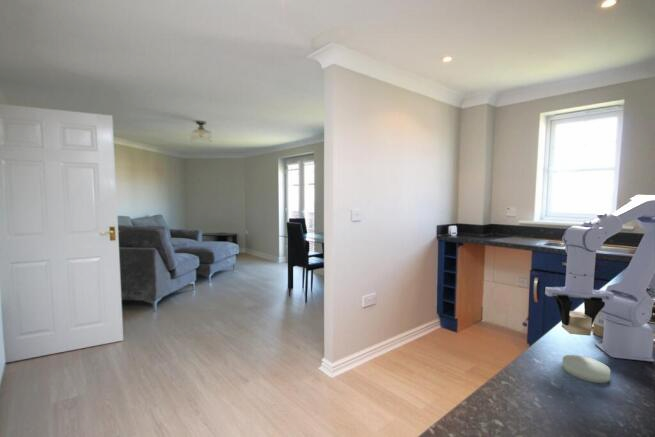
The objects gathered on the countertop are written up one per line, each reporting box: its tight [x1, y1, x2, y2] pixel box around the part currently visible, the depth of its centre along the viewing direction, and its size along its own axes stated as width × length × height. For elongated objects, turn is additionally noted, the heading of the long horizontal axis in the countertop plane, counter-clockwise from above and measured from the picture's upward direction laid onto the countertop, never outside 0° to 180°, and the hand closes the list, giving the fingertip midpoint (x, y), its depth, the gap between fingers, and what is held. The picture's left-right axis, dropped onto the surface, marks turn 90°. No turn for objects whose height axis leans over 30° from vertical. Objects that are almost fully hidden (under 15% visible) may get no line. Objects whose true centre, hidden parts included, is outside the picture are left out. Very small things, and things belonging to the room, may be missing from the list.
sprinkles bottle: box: [592, 289, 605, 338], centre depth 99 cm, size 5×5×14 cm
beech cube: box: [561, 310, 592, 337], centre depth 85 cm, size 4×4×4 cm
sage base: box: [561, 354, 611, 384], centre depth 79 cm, size 9×9×2 cm
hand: (576, 324), depth 85 cm, fingers closed on beech cube, 4 cm apart
